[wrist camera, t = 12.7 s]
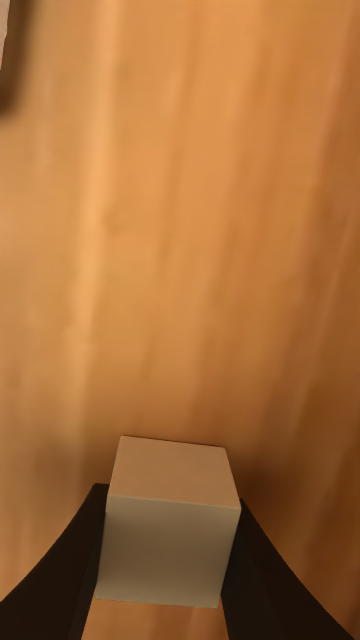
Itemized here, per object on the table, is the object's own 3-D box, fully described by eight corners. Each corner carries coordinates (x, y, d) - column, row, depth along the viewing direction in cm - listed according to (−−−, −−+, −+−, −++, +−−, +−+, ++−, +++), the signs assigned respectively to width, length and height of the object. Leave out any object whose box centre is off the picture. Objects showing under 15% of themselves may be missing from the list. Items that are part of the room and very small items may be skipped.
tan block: (206, 531, 14) (217, 609, 11) (108, 522, 14) (93, 600, 11) (225, 446, 13) (242, 508, 10) (120, 434, 13) (107, 494, 10)
